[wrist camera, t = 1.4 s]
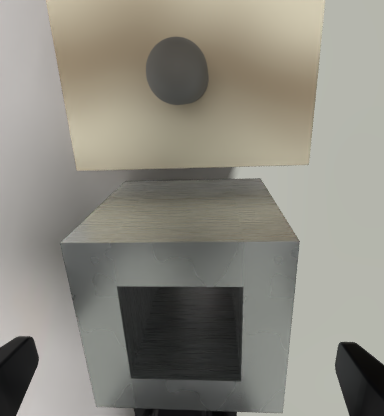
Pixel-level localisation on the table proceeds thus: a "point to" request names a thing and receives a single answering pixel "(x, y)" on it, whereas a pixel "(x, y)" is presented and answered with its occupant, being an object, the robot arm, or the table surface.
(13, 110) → the table surface
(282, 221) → the hollow square tube
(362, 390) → the robot arm
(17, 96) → the table surface
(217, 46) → the shaft plate
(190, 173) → the table surface
